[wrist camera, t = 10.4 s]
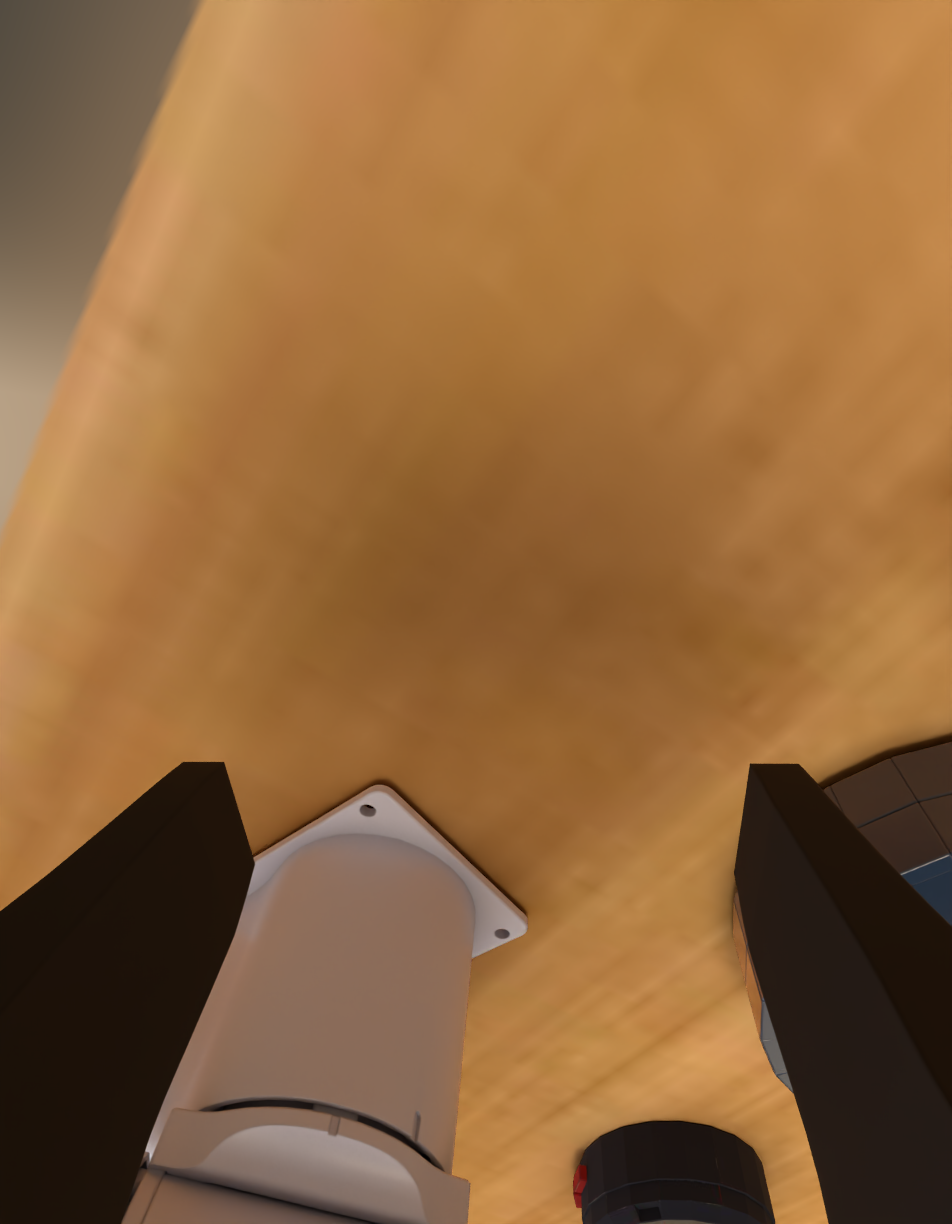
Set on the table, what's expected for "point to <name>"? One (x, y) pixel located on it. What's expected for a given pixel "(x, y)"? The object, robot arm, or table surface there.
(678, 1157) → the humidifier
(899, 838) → the pan
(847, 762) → the table surface
